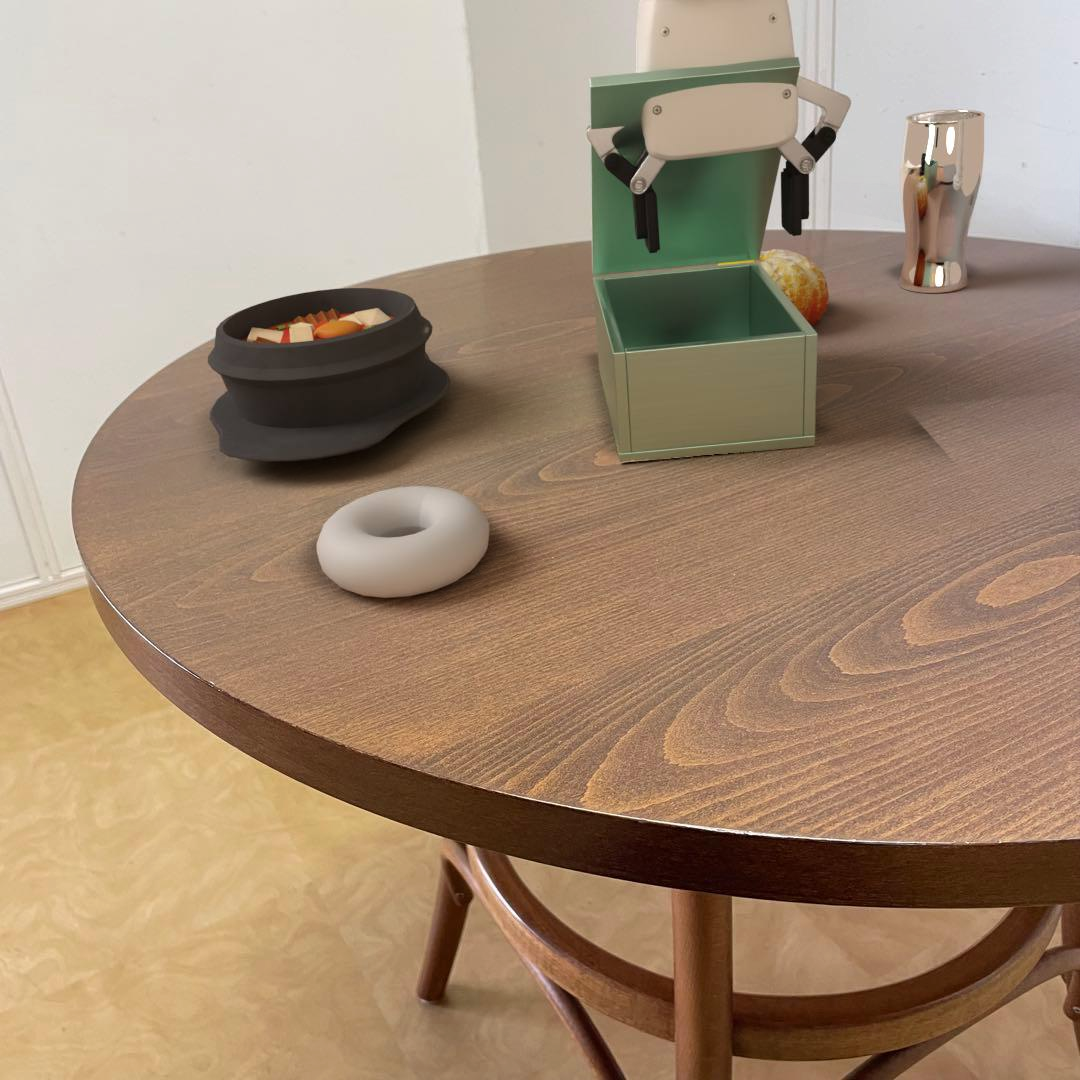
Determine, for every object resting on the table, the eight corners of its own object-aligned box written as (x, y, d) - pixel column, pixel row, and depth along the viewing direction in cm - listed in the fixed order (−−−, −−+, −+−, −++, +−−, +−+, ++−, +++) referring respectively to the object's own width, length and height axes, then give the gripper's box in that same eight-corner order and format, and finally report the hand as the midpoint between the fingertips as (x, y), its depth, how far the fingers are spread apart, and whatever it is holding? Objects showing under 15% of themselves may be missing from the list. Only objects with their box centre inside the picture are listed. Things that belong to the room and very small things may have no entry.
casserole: (429, 477, 77) (412, 359, 73) (165, 493, 78) (134, 378, 74) (470, 358, 99) (458, 262, 95) (263, 372, 100) (243, 279, 96)
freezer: (815, 446, 75) (818, 333, 72) (620, 464, 76) (613, 353, 72) (758, 356, 92) (758, 261, 89) (599, 371, 93) (592, 277, 89)
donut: (297, 610, 62) (472, 609, 60) (284, 556, 61) (462, 553, 59) (354, 527, 71) (508, 524, 69) (344, 477, 70) (501, 473, 68)
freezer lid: (800, 66, 70) (787, 2, 72) (590, 87, 70) (582, 23, 72) (759, 259, 88) (749, 205, 90) (592, 275, 89) (586, 220, 91)
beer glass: (883, 291, 105) (891, 122, 98) (908, 272, 110) (918, 109, 103) (959, 297, 101) (973, 121, 95) (981, 277, 106) (997, 108, 99)
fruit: (813, 342, 93) (786, 249, 90) (701, 367, 99) (672, 280, 96) (851, 301, 101) (827, 214, 98) (745, 326, 107) (720, 245, 105)
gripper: (834, -54, 73) (833, 214, 81) (569, -20, 74) (593, 243, 81) (867, -55, 66) (862, 237, 74) (575, -18, 67) (601, 268, 75)
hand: (721, 240), depth 78 cm, fingers open, 9 cm apart
